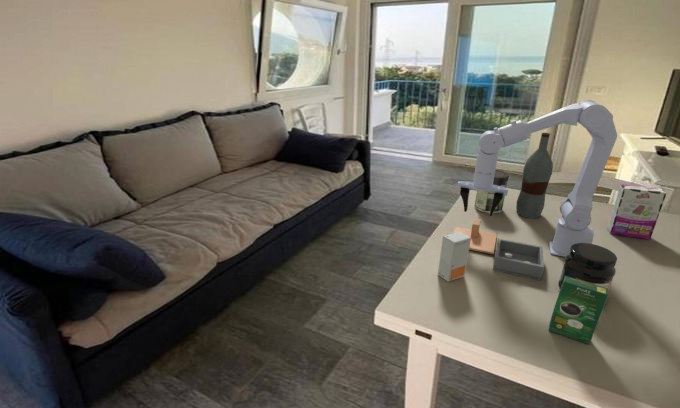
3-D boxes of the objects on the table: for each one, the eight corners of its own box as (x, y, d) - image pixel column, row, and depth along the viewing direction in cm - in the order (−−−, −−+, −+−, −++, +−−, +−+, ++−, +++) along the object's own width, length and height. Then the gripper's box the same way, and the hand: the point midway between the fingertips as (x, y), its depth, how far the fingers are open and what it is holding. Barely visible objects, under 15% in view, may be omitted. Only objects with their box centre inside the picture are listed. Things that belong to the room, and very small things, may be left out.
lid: (496, 237, 122) (499, 221, 120) (492, 256, 111) (496, 239, 109) (455, 230, 127) (457, 214, 125) (448, 247, 116) (450, 230, 114)
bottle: (511, 207, 144) (527, 130, 132) (536, 209, 143) (554, 131, 131) (518, 218, 135) (536, 135, 124) (545, 219, 134) (565, 136, 122)
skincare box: (448, 282, 98) (453, 242, 94) (437, 274, 102) (442, 235, 97) (465, 276, 101) (471, 237, 96) (454, 269, 104) (459, 230, 100)
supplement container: (606, 312, 88) (621, 268, 83) (555, 297, 93) (567, 255, 88) (605, 289, 96) (618, 248, 91) (558, 276, 101) (569, 237, 96)
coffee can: (505, 207, 145) (512, 172, 139) (497, 215, 137) (504, 179, 131) (479, 200, 150) (484, 167, 145) (470, 208, 143) (475, 173, 137)
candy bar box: (645, 233, 124) (662, 187, 118) (650, 240, 120) (668, 193, 114) (606, 228, 128) (620, 183, 122) (609, 234, 124) (624, 188, 118)
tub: (539, 258, 109) (542, 246, 108) (540, 280, 99) (544, 267, 98) (495, 249, 114) (498, 238, 113) (492, 269, 104) (495, 257, 102)
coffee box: (591, 337, 80) (609, 286, 75) (591, 346, 78) (609, 294, 73) (549, 323, 84) (563, 274, 79) (547, 331, 82) (562, 280, 77)
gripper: (458, 172, 112) (452, 213, 117) (510, 179, 106) (502, 221, 112) (461, 165, 118) (456, 205, 123) (511, 172, 112) (503, 213, 118)
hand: (478, 212), depth 118 cm, fingers open, 7 cm apart
